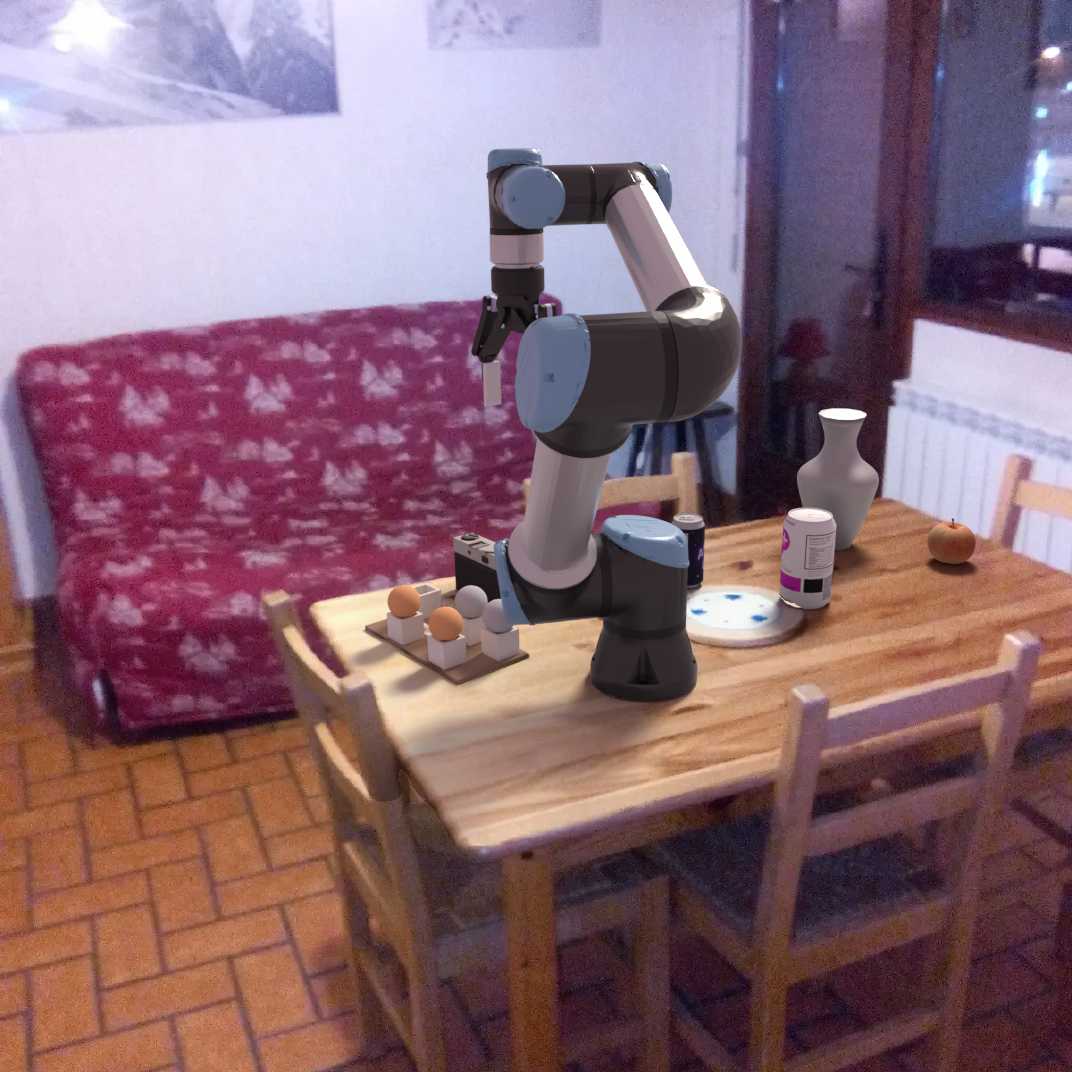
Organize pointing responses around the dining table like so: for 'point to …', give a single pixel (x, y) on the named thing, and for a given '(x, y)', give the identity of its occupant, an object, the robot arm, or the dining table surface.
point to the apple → (951, 542)
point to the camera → (476, 564)
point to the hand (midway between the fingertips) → (521, 413)
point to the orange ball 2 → (445, 623)
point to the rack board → (458, 674)
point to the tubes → (453, 650)
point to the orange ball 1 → (404, 601)
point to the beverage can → (693, 545)
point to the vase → (839, 475)
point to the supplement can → (807, 557)
